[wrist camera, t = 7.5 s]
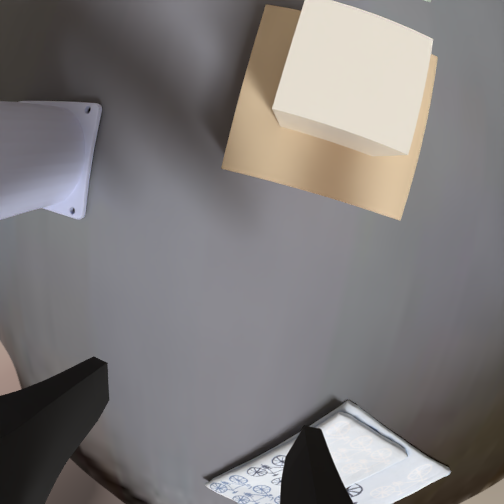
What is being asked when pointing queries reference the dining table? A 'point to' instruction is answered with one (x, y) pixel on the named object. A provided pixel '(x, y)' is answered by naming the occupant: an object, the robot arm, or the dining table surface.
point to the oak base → (306, 146)
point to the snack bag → (341, 463)
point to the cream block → (353, 79)
